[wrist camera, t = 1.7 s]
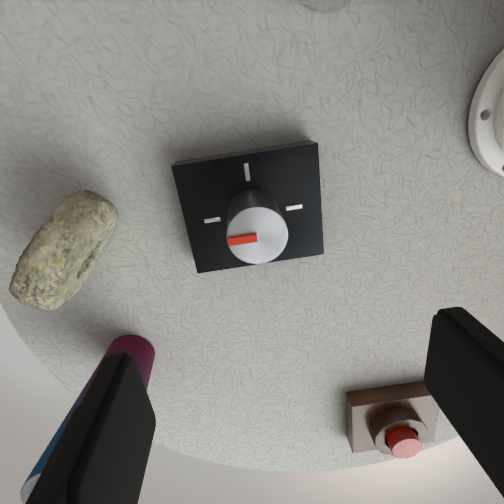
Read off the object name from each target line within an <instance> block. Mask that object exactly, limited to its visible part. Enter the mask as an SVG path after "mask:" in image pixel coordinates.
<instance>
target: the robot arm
mask: <svg viewBox="0 0 504 504" xmlns="http://www.w3.org/2000/svg"><path fill="white" fill-rule="evenodd" d="M468 134H469V139H470V144H471V148H472V150H473V152H474V154H475V156H476V158H477V159H478V160H479V162H480V163H481V164H482V165H483V166H484V167H485V168H486V169H488V170H489V171H490V172H492V173H495V174H497V175H500V176H502V177H504V49H503V50H502V51H501V52H500V53H499V54H498V55H497V56H496V57H495V59H494V60H493V62H492V63H491V64H490V66H489V67H488V69H487V70H486V72H485V73H484V75H483V77H482V79H481V81H480V83H479V85H478V87H477V89H476V91H475V94H474V97H473V100H472V103H471V107H470V113H469V119H468ZM424 383H425V386H426V388H427V390H428V392H429V393H430V394H431V396H432V397H433V399H434V400H435V402H436V403H437V404H438V406H439V407H440V409H441V410H442V411H443V413H444V414H445V416H446V417H447V418H448V420H449V421H450V423H451V424H452V426H453V427H454V428H455V430H456V431H457V433H458V434H459V435H460V437H461V438H462V440H463V441H464V442H465V444H466V445H467V447H468V448H469V449H470V451H471V452H472V453H473V455H474V456H475V458H476V459H477V461H478V462H479V464H480V465H481V466H482V468H483V469H484V471H485V472H486V473H487V475H488V476H489V478H490V479H491V480H492V482H493V483H494V485H495V486H496V488H497V489H498V490H499V492H500V493H501V494H502V496H503V497H504V342H503V341H502V340H500V339H499V338H498V337H497V336H496V335H494V334H493V333H492V332H491V331H490V330H489V329H487V328H486V327H485V326H484V325H483V324H481V323H480V322H479V321H478V320H477V319H475V318H474V317H473V316H472V315H471V314H470V313H468V312H467V311H466V310H465V309H463V308H462V307H453V308H445V309H440V310H439V311H438V313H437V315H434V316H433V320H432V326H431V333H430V340H429V347H428V353H427V360H426V367H425V374H424ZM155 426H156V419H155V414H154V411H153V408H152V405H151V403H150V400H149V397H148V394H147V391H146V388H145V386H144V383H143V380H142V377H141V374H140V371H139V369H138V366H137V363H136V360H135V358H134V357H133V356H129V355H128V353H127V352H123V353H115V354H108V355H106V356H105V357H104V359H103V361H102V363H101V365H100V367H99V369H98V371H97V373H96V375H95V376H94V378H93V380H92V382H91V384H90V386H89V388H88V390H87V392H86V394H85V396H84V398H83V400H82V402H81V404H80V405H78V406H77V407H76V408H75V410H74V411H73V413H72V415H71V417H70V419H69V421H68V423H67V424H66V426H65V428H64V430H63V432H62V434H61V436H60V438H59V440H58V442H57V444H56V446H55V448H54V449H53V451H52V453H51V455H50V457H49V459H48V461H47V463H46V465H45V467H44V469H43V471H42V473H41V474H40V476H39V478H38V480H37V482H36V484H35V486H34V488H33V490H32V492H31V494H30V496H29V497H28V499H27V501H26V503H25V504H138V499H139V495H140V491H141V487H142V482H143V478H144V474H145V469H146V465H147V461H148V456H149V452H150V448H151V444H152V440H153V435H154V431H155Z"/></svg>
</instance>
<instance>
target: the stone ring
mask: <svg viewBox="0 0 504 504" xmlns="http://www.w3.org/2000/svg"><path fill="white" fill-rule="evenodd" d="M117 217H118V211H117V209H116V207H115V206H114V205H113V204H112V203H111V202H110V201H109V200H107V199H105V198H104V197H102V196H101V195H99V194H96V193H94V192H91V191H87V190H85V191H78V192H76V193H73V194H72V195H70V196H68V197H66V198H65V199H64V200H63V201H62V204H61V205H60V206H59V207H58V208H57V209H56V210H55V211H54V212H53V214H52V216H51V219H50V221H49V222H48V223H47V224H45V225H43V226H42V227H41V228H40V229H39V230H38V231H37V232H36V234H35V235H34V236H33V238H32V240H31V241H30V243H29V244H28V246H27V248H26V249H25V250H24V251H23V254H22V255H21V256H20V257H19V261H18V263H17V264H16V269H15V272H14V274H13V276H12V281H11V283H10V287H9V290H10V292H11V294H12V295H13V296H14V297H15V298H16V299H17V300H19V301H20V302H21V303H22V304H24V305H28V306H30V307H32V308H36V309H42V310H48V311H51V310H55V309H57V308H59V307H60V306H61V305H63V304H64V303H65V302H66V301H68V300H69V299H70V298H72V297H73V296H74V295H75V293H76V292H77V291H78V290H79V289H80V288H81V286H82V285H83V283H84V282H85V281H86V280H87V278H88V277H89V275H90V273H91V271H92V269H93V267H94V265H95V264H96V262H97V260H98V257H99V255H100V254H101V253H102V252H103V251H104V250H105V249H106V247H107V245H108V242H109V240H110V238H111V235H112V233H113V232H114V229H115V227H116V220H117Z"/></svg>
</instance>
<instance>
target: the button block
mask: <svg viewBox="0 0 504 504" xmlns="http://www.w3.org/2000/svg"><path fill="white" fill-rule="evenodd" d="M346 405H347V438H348V441H349V444H350V447H351V450H352V453H356V452H363V451H370V450H377V449H378V450H379V451H380V452H381V453H384V454H389V455H393V454H392V452H391V450H390V448H389V445H388V443H387V441H386V435H387V434H388V433H389V432H390V431H392V430H394V429H396V428H398V427H404V426H408V427H411V428H413V430H414V431H415V433H416V435H417V437H418V438H419V440H420V442H421V445H422V444H423V443H425V442H431V441H434V434H435V428H436V421H437V414H438V408H439V406H438V404H437V403H436V402H435V400H434V399H433V397H432V396H431V394H430V393H429V392H428V390H427V388H426V386H425V383H424V381H420V382H414V383H407V384H400V385H393V386H387V387H380V388H373V389H367V390H360V391H353V392H347V393H346ZM393 456H394V455H393Z"/></svg>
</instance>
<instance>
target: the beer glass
mask: <svg viewBox="0 0 504 504" xmlns="http://www.w3.org/2000/svg"><path fill="white" fill-rule="evenodd" d="M300 1H301V2H302V3H303V4H304V5H305V6H307V7H308V8H310V9H312V10H315V11H318V12H332V11H336V10H338V9H341V8H342V7H344V6H346V5H347V4H348V3H350V2H351V1H352V0H300Z"/></svg>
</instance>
